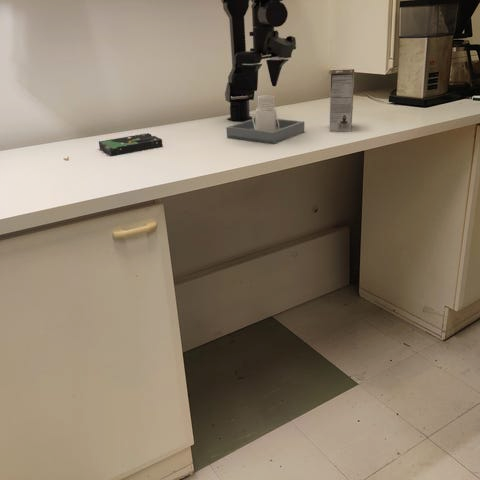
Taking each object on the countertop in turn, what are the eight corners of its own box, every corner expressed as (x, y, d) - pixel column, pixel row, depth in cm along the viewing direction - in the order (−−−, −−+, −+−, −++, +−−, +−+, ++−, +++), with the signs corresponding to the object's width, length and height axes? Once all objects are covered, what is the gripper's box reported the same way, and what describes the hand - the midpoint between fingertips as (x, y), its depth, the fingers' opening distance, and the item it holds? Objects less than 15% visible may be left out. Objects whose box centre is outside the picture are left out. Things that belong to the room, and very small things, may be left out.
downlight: (248, 134, 137) (248, 97, 132) (256, 128, 143) (257, 94, 138) (274, 136, 134) (275, 99, 130) (282, 131, 140) (283, 95, 136)
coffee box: (330, 125, 147) (331, 69, 140) (351, 124, 145) (354, 68, 139) (329, 131, 139) (330, 73, 132) (351, 131, 137) (354, 72, 130)
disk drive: (149, 142, 140) (99, 150, 133) (148, 132, 139) (97, 140, 132) (163, 149, 132) (111, 158, 125) (162, 138, 131) (109, 147, 124)
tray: (259, 126, 149) (259, 117, 148) (304, 132, 140) (304, 121, 138) (227, 137, 138) (226, 127, 136) (273, 144, 128) (273, 132, 127)
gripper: (268, 27, 115) (269, 95, 122) (308, 24, 128) (307, 85, 135) (232, 29, 122) (235, 92, 128) (273, 25, 135) (274, 83, 141)
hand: (264, 88), depth 133 cm, fingers open, 9 cm apart
